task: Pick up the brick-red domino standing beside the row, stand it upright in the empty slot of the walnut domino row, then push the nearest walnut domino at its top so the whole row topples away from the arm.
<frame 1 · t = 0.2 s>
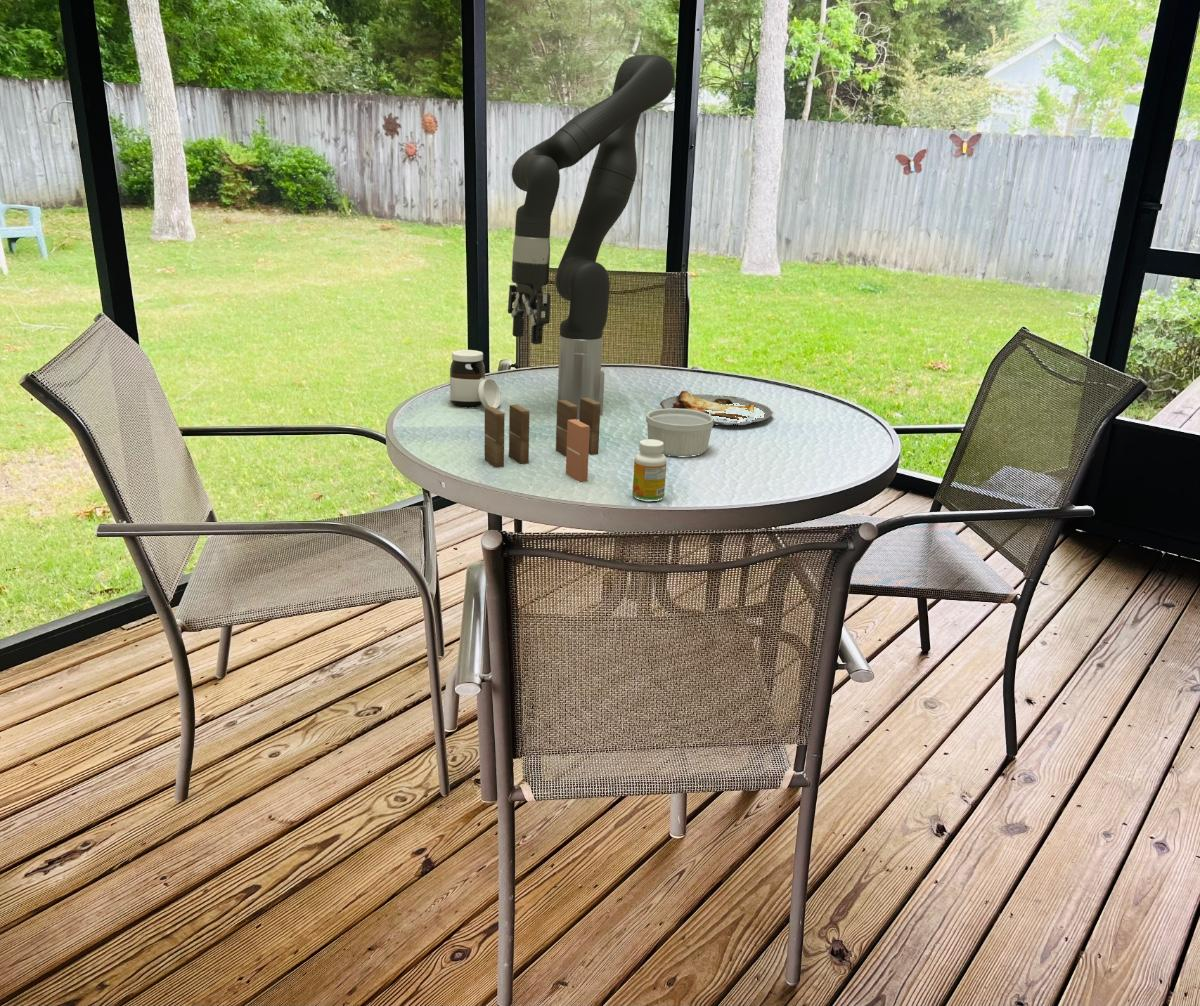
hand: (526, 340, 197), 17 cm above the table, tool pointing down, fingers open, 8 cm apart
ramekin: (677, 451, 188), on the table
domino 4: (518, 460, 177), on the table
domino 1: (588, 451, 184), on the table
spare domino: (576, 477, 169), on the table
domino 5: (494, 463, 174), on the table
domino 2: (565, 454, 182), on the table
spread jar: (475, 406, 213), on the table
food plate: (715, 417, 215), on the table
supplement bottle: (647, 498, 161), on the table
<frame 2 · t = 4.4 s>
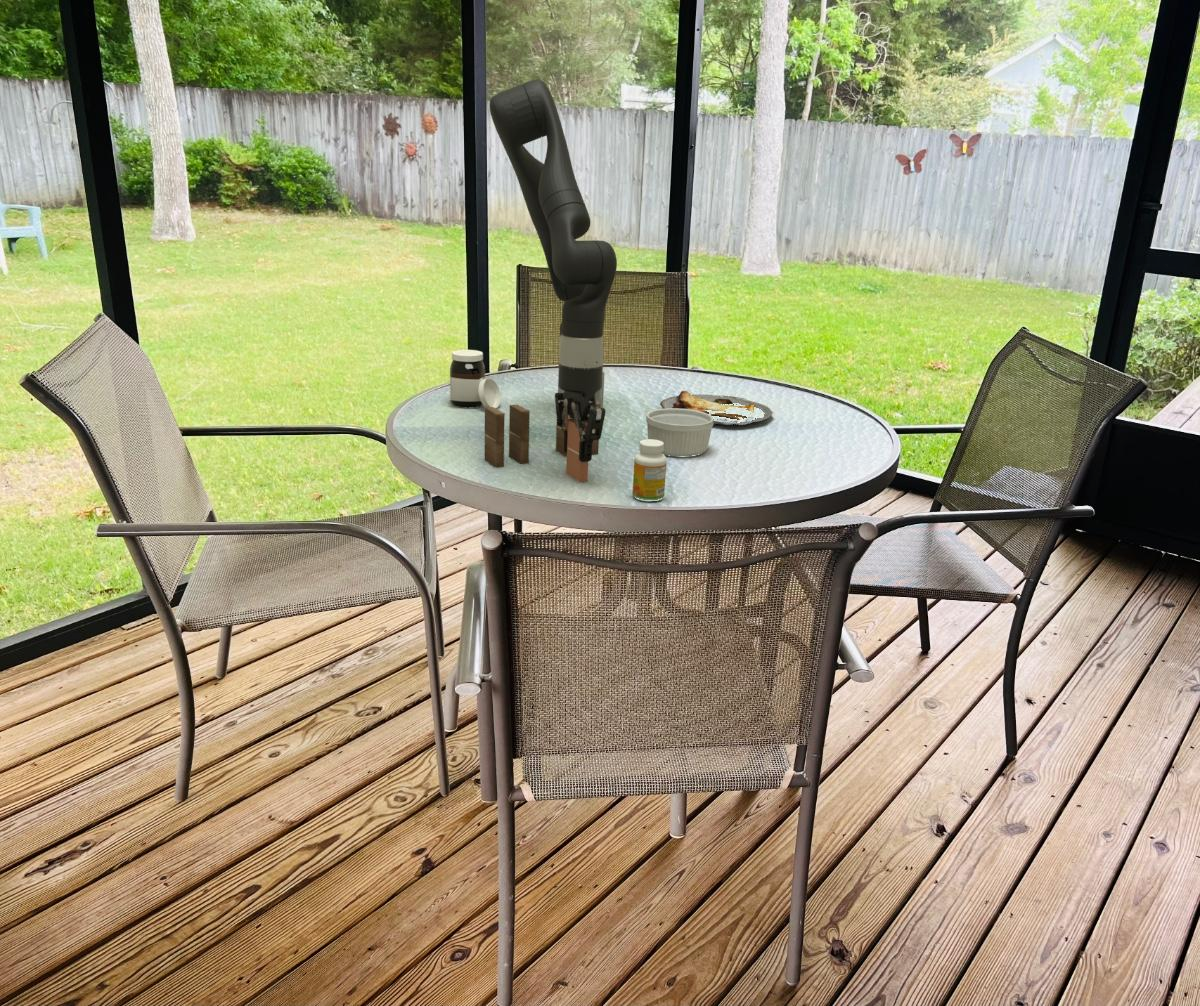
hand: (577, 456, 167), 4 cm above the table, tool pointing down, fingers closed on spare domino, 5 cm apart
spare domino: (576, 477, 169), on the table, touching gripper
everything else where it was.
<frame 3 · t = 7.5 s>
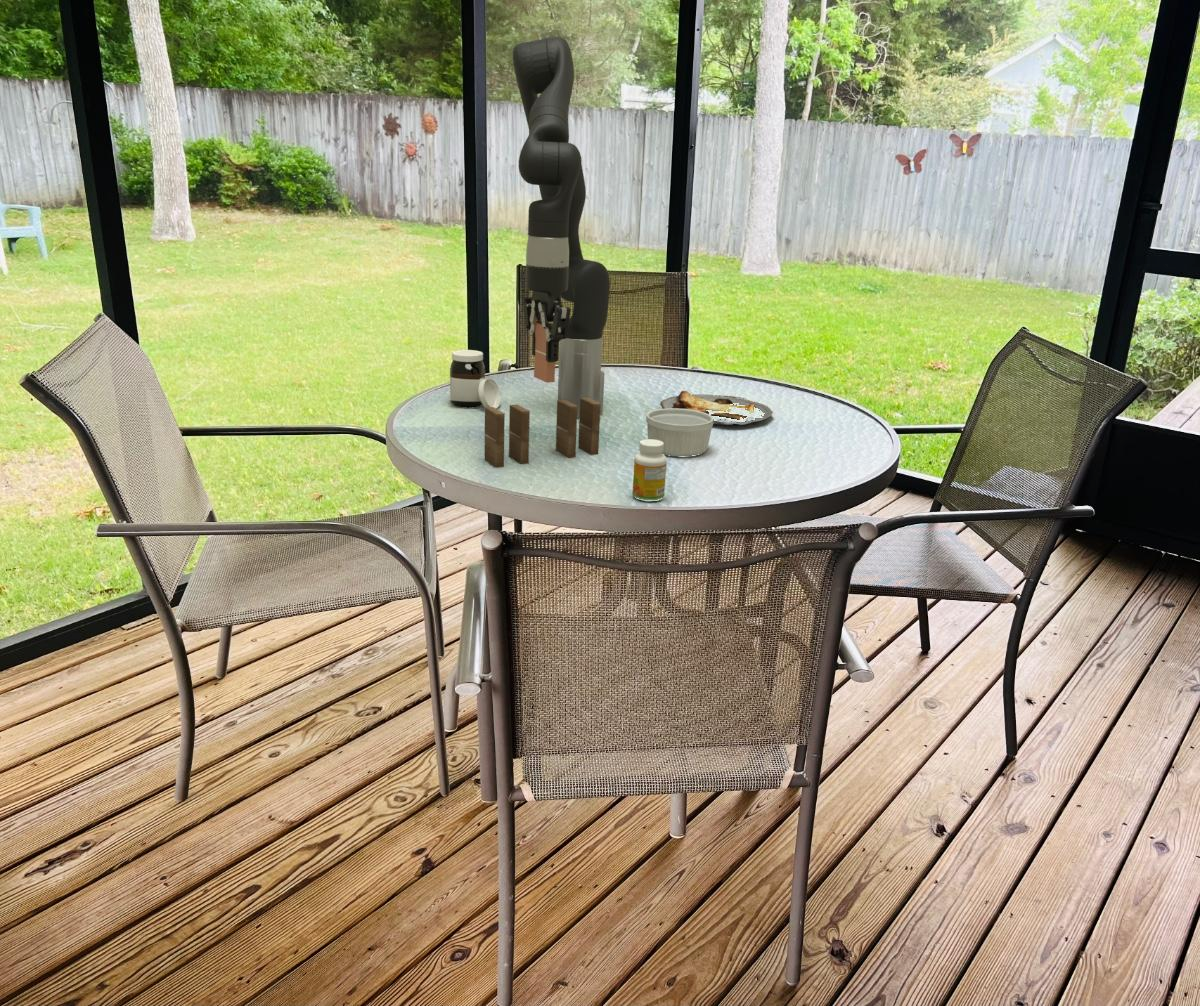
hand: (544, 358, 173), 19 cm above the table, tool pointing down, fingers closed on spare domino, 5 cm apart
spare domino: (544, 379, 174), point 15 cm above the table, touching gripper
everything else where it was.
when the fingers open (5 cm above the table, at t = 10.8 s): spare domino stays where it is, on the table.
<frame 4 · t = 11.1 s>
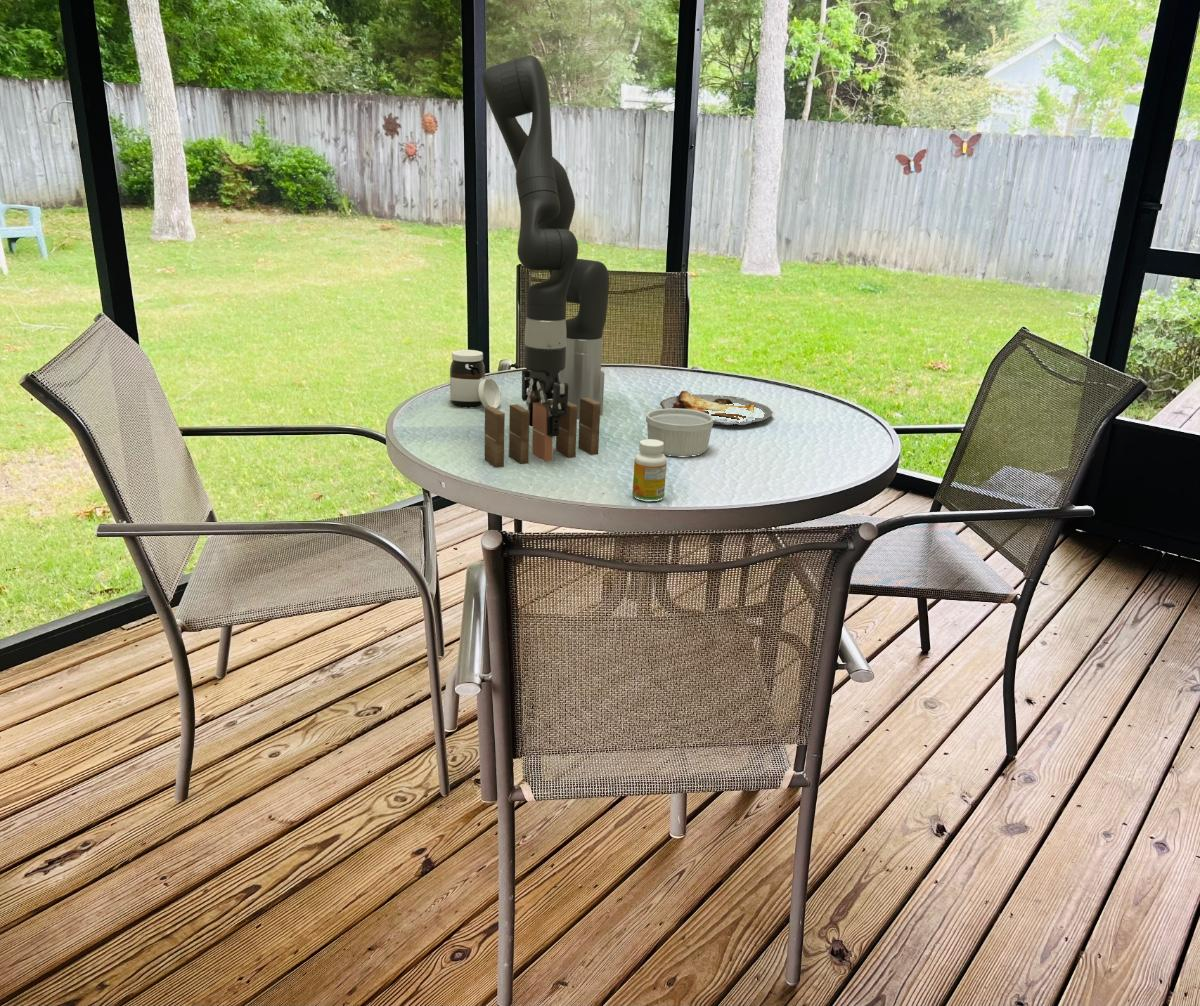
hand: (543, 430, 177), 5 cm above the table, tool pointing down, fingers open, 7 cm apart
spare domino: (542, 457, 179), on the table
everything else where it was.
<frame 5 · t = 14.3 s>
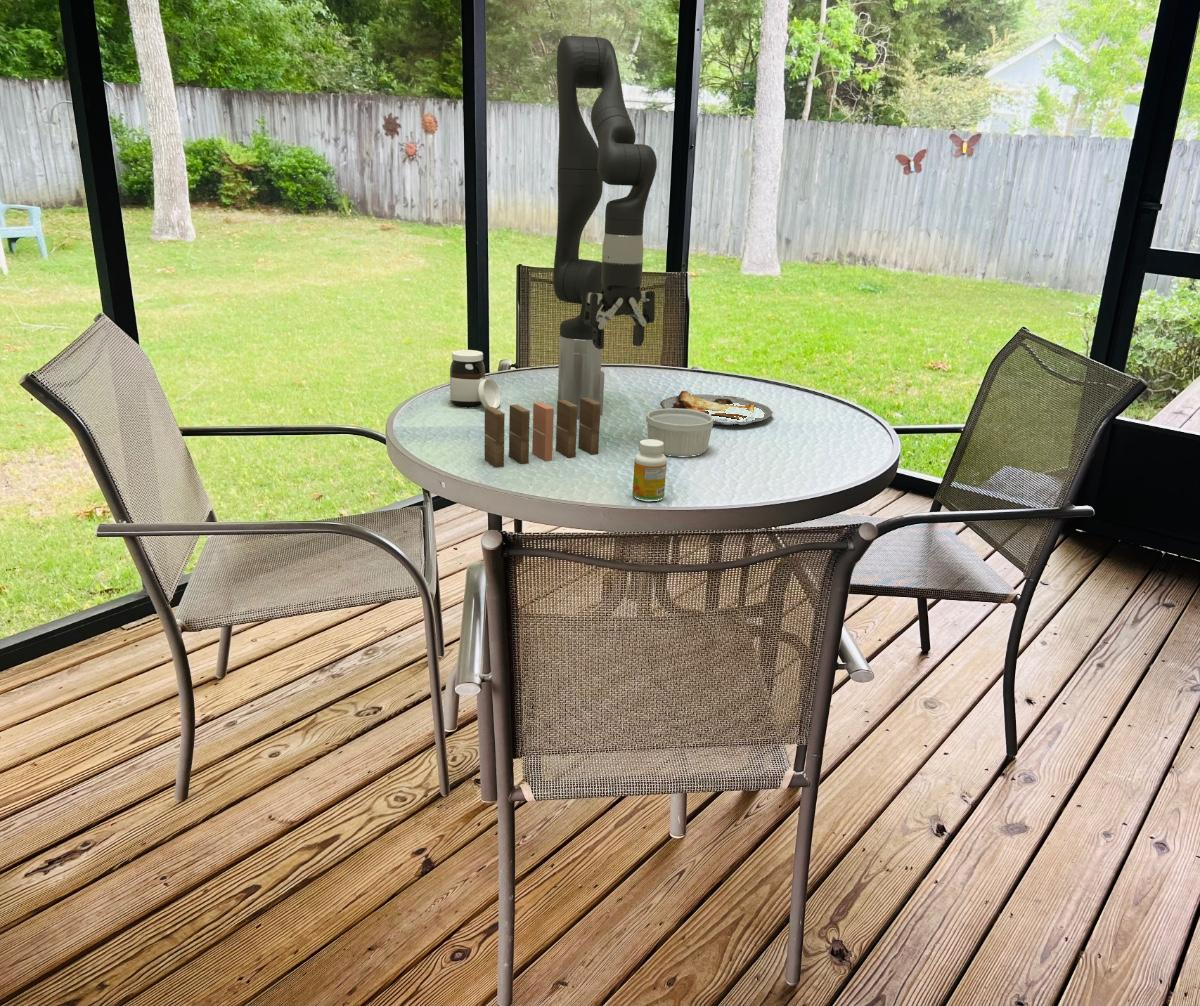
hand: (618, 346, 180), 20 cm above the table, tool pointing down, fingers open, 8 cm apart
nothing on the table moved.
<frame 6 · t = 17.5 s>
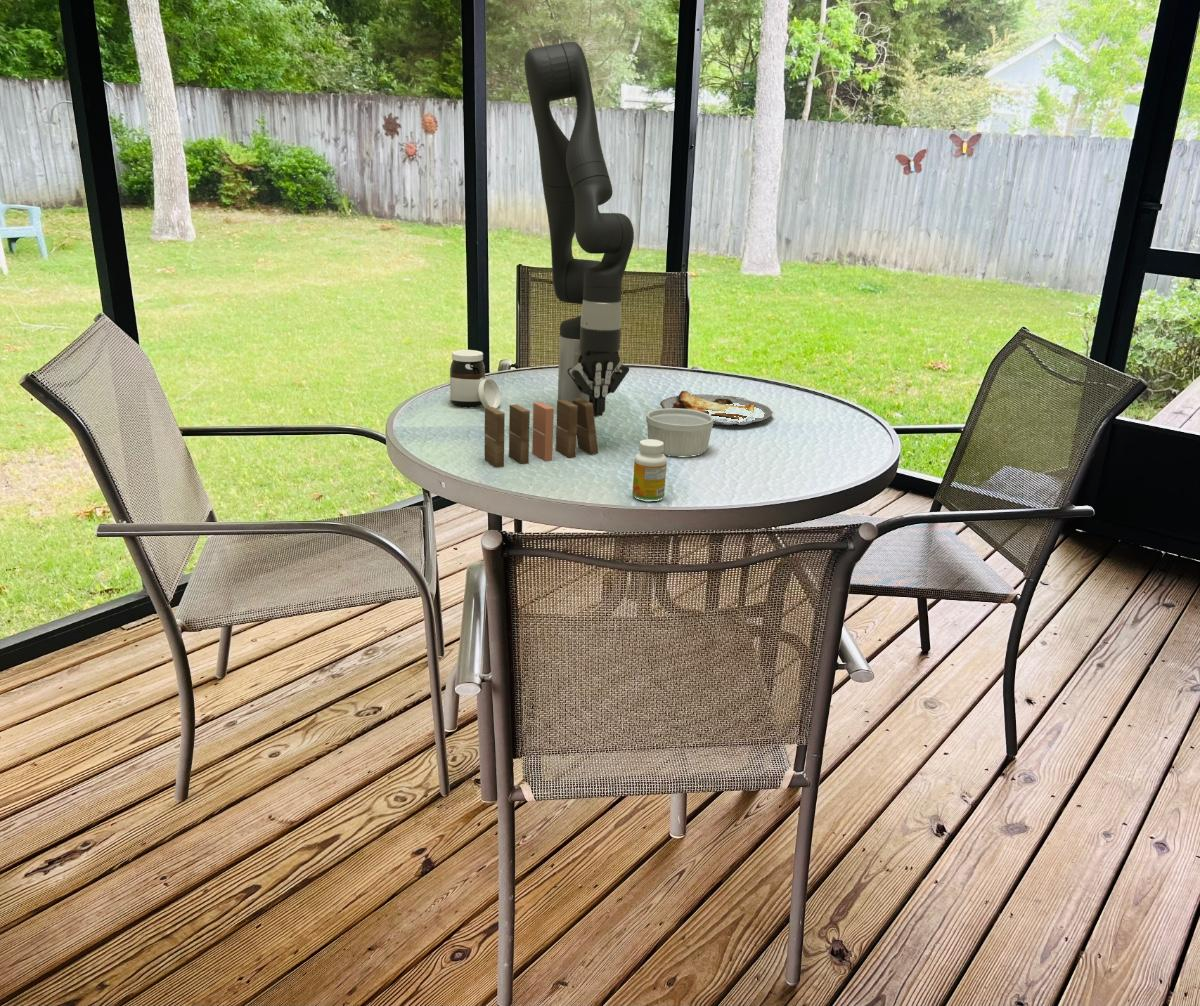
hand: (596, 415, 182), 7 cm above the table, tool pointing down, fingers closed
domino 1: (588, 450, 184), on the table, tilted 10°
everything else where it was.
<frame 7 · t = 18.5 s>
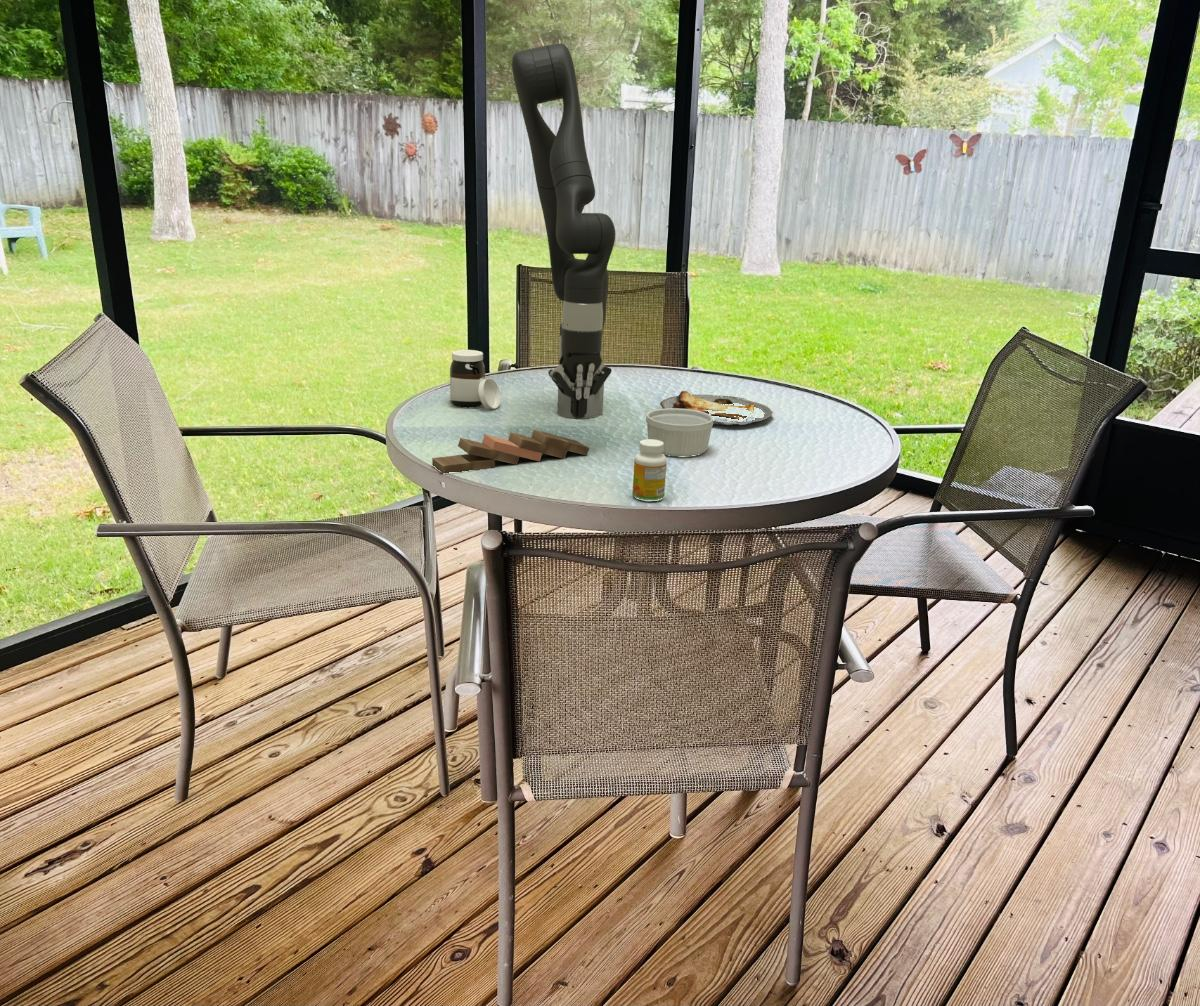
hand: (578, 417, 180), 7 cm above the table, tool pointing down, fingers closed
domino 4: (512, 456, 176), point 1 cm above the table, tilted 72°, touching domino 5, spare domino
domino 1: (581, 448, 183), point 1 cm above the table, tilted 71°, touching domino 2
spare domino: (535, 453, 178), point 1 cm above the table, tilted 71°, touching domino 2, domino 4
domino 5: (489, 460, 174), point 1 cm above the table, tilted 90°, touching domino 4
domino 2: (559, 451, 181), point 1 cm above the table, tilted 71°, touching domino 1, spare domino
everything else where it was.
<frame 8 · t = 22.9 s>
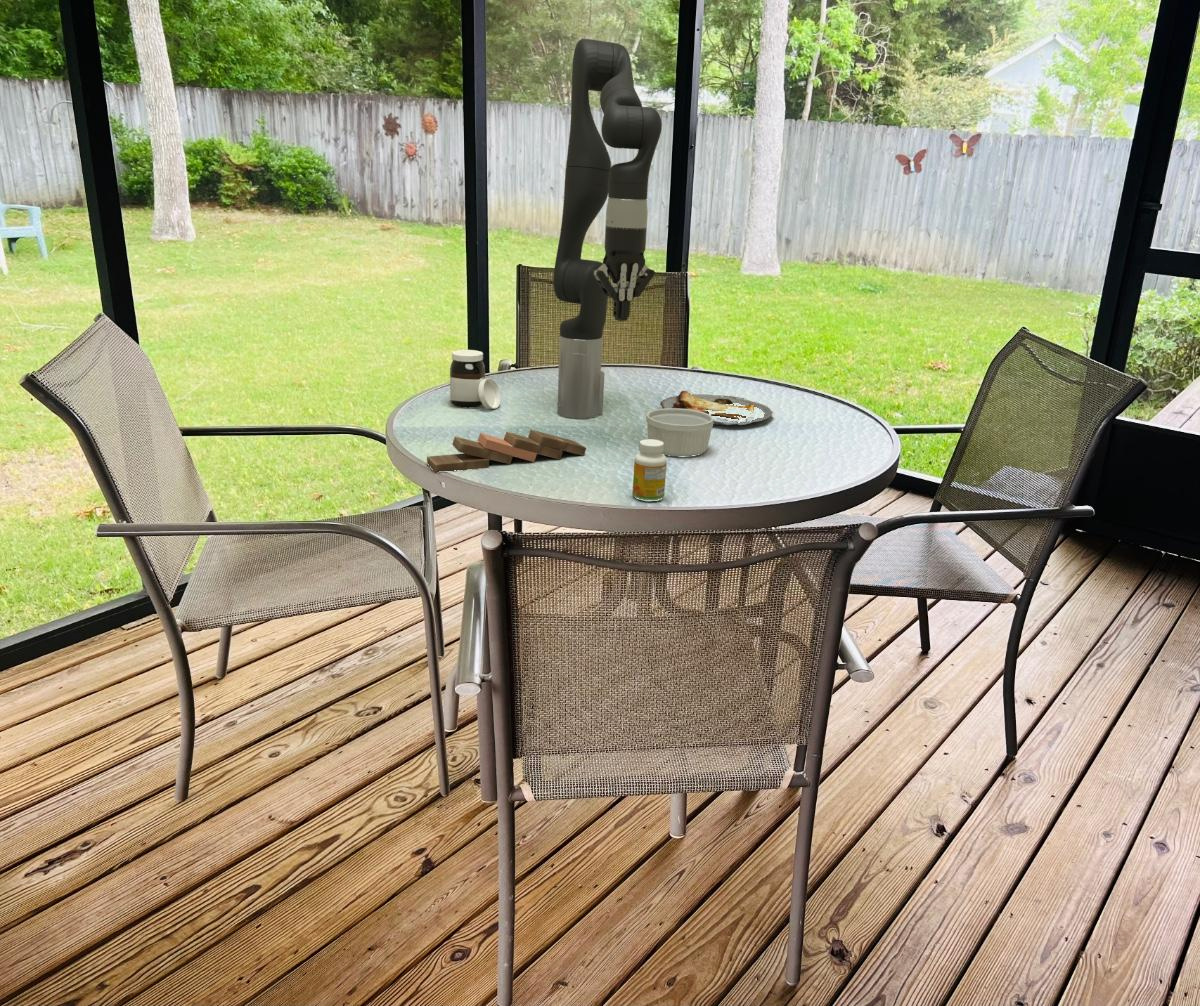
hand: (621, 320, 178), 25 cm above the table, tool pointing down, fingers closed
domino 1: (578, 448, 183), point 1 cm above the table, tilted 71°
domino 2: (556, 452, 180), point 1 cm above the table, tilted 70°, touching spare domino
at the end: domino 5 tilted 90°; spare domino tilted 70°; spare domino inside the target area (1.0 cm from its centre), point 0.9 cm above the table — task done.
